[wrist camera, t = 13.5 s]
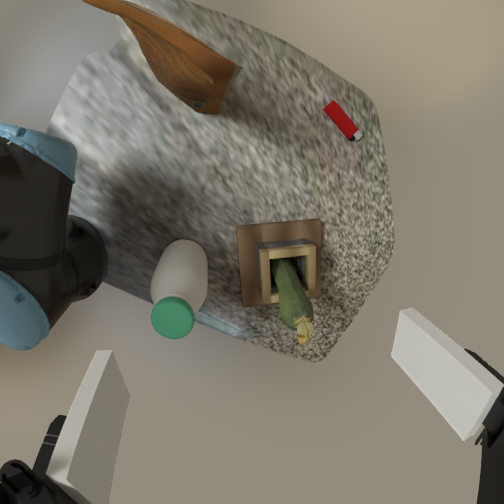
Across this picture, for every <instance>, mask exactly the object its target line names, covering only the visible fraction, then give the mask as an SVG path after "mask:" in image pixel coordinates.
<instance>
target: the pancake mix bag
mask: <svg viewBox="0 0 504 504" xmlns="http://www.w3.org/2000/svg"><path fill="white" fill-rule="evenodd" d="M82 1H84V2H86V3H88V4H90V5H92V6H94V7H97V8H100V9H102V10H105V11H108V12H110V13H114V14H116V15H119V16H120V17H121V18H122V19H123V20H124V22H125V23H126V24H127V26H128V27H129V28H130V29H131V31H132V32H133V34H134V36H135V37H136V39H137V40H138V43H139V45H140V48H141V50H142V52H143V54H144V56H145V58H146V60H147V62H148V64H149V66H150V68H151V70H152V72H153V73H154V75H155V76H156V78H157V79H158V81H159V82H160V83H161V84H162V85H164V86H165V87H166V88H167V89H168V90H169V91H171V92H172V93H173V94H174V95H175V96H176V97H178V98H179V99H180V100H181V101H183V102H184V103H185V104H187V105H188V106H190V107H191V108H192V109H194V110H195V111H196V112H200V113H204V114H208V113H222V111H221V102H222V101H223V98H224V96H225V94H227V93H228V92H229V90H230V87H231V85H232V84H234V82H235V79H236V77H237V75H238V74H239V72H240V71H241V70H242V69H243V68H242V67H241V66H239V65H237V64H236V63H234V62H232V61H230V60H229V59H227V58H225V57H223V56H222V55H220V54H219V53H218V52H216V51H215V50H213V49H212V48H211V47H209V46H208V45H206V44H205V43H203V42H202V41H200V40H199V39H197V38H196V37H194V36H192V35H191V34H189V33H188V32H186V31H185V30H183V29H182V28H180V27H179V26H177V25H175V24H174V23H172V22H170V21H168V20H167V19H165V18H163V17H161V16H160V15H158V14H156V13H155V12H153V11H151V10H150V9H147V8H145V7H142V6H140V5H137V4H134V3H131V2H128V1H124V0H82Z"/></svg>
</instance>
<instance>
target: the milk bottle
mask: <svg viewBox="0 0 504 504" xmlns="http://www.w3.org/2000/svg"><path fill="white" fill-rule="evenodd" d="M207 287H208V263H207V256H206V254H205V252H204V250H203V249H202V247H201V246H200V245H198V244H197V243H195V242H193V241H190V240H177V241H174V242H172V243H171V244H169V245H168V246H167V247H166V249H165V250H164V252H163V254H162V256H161V258H160V260H159V262H158V264H157V266H156V269H155V271H154V273H153V276H152V280H151V285H150V293H151V298H152V301H153V303H154V308H153V311H152V316H151V320H152V324H153V327H154V329H155V330H156V331H157V332H158V333H159V334H160V335H162V336H164V337H166V338H171V339H178V338H182V337H184V336H186V335H187V334H188V333H189V332H190V331H191V329H192V328H193V324H194V314H195V313H196V312H197V311H198V310H199V309H200V308H201V307H202V305H203V303H204V301H205V298H206V295H207Z"/></svg>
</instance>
